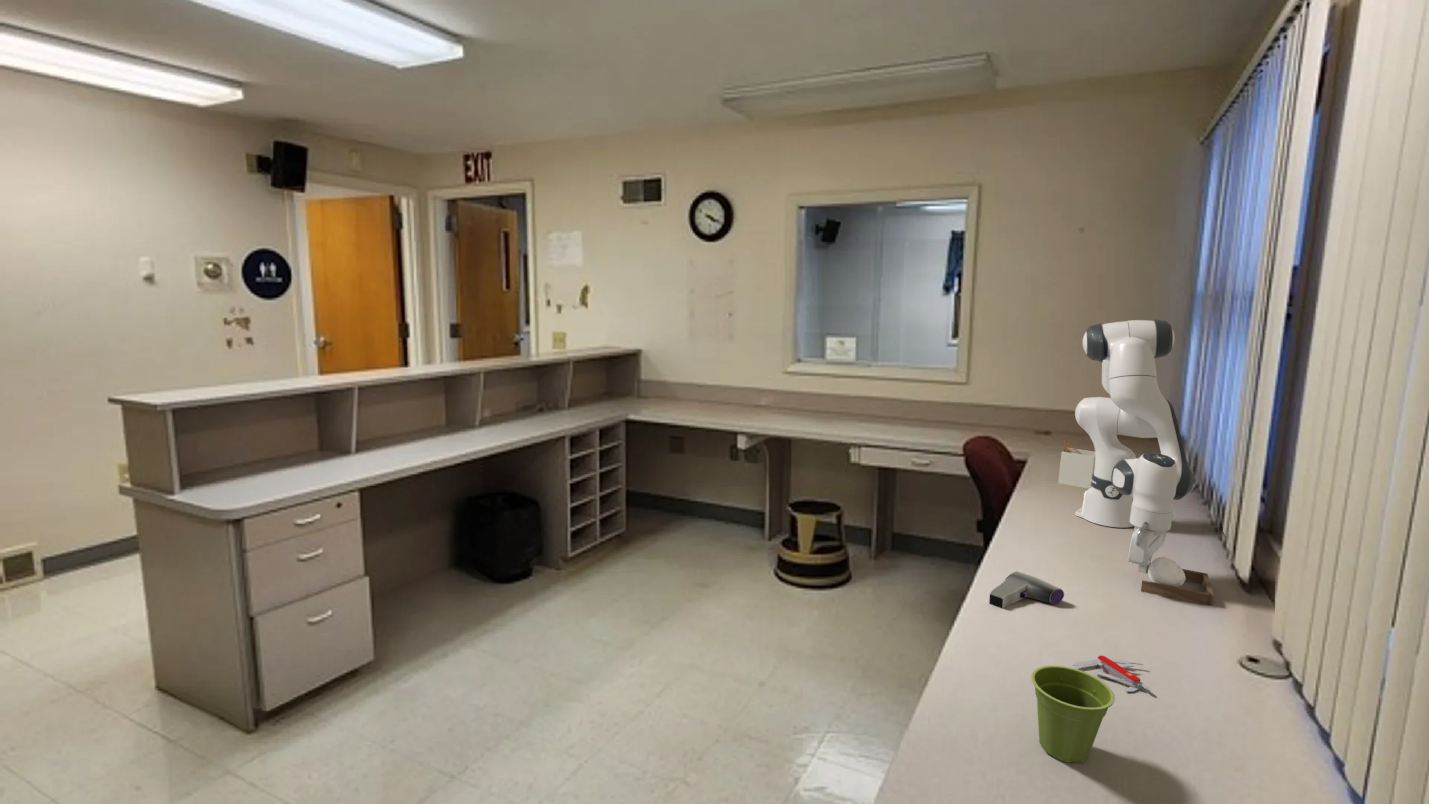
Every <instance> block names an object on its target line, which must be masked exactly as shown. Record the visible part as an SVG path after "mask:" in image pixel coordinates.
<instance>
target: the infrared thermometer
mask: <svg viewBox="0 0 1429 804" xmlns="http://www.w3.org/2000/svg"><path fill="white" fill-rule="evenodd" d="M1027 598H1029V599H1033V600H1036V601H1041V602H1045V603H1048V604H1051V605H1056V604H1059V603H1060V602H1062V600H1064V598H1065V592H1064V590H1063V589H1062V588H1061V587H1058V586H1055V585H1053V584H1052V583H1049V582H1046V581H1045V580H1043V579H1040V578H1038V577H1035V576H1033V575H1029V574H1026V573H1023V572H1020V571H1014V572H1012V573H1010V574H1009V575H1008V576H1007V577H1005V579H1004V580H1003V582H1001V583H1000V584H998V585H997V586H996V587H995V588H993V589H992V590H991V591H990V593H989V599H988V600H989V601H988V604H989V605H992V606H994V607H997V608H1000V609H1003V608H1005V607H1007V606H1010V605H1013V604H1016V603H1017V602H1019V601H1022V600H1023V599H1027Z"/></svg>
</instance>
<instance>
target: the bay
mask: <svg viewBox="0 0 1429 804" xmlns="http://www.w3.org/2000/svg"><path fill="white" fill-rule="evenodd" d="M1150 564H1151V562H1150ZM1149 566H1150V565H1149ZM1182 570H1183V572H1184V574H1185V577H1186V579H1185V581H1187V582H1192V583H1199V584H1201V585H1202V586H1201V587H1202V590H1203V591H1201V590H1199V591H1198V590H1193V589H1189V588H1185V587H1184V588H1183V587H1180V588H1179V587H1174V586H1169V585H1164V584H1159V583H1154V582H1152V581H1149V580H1144V579H1142V580H1141V585H1140V592H1142V593H1148V594H1153V595H1158V596H1163V597H1168V598H1172V599H1173V598H1174V599H1178V600H1181V601H1182V600H1183V601H1186V602H1187V601H1188V602H1191V603H1197V604H1201V605H1202V604H1203V605H1206V606H1211V607H1212V606H1213V604H1214V597H1215V595H1214V591H1213V588H1212V584H1211V581H1210V578H1209V574H1208V573H1205V572H1200V571H1195V570H1191V569H1184V568H1182ZM1146 573H1147V574H1148V571H1147V572H1146ZM1146 573H1145V574H1146Z"/></svg>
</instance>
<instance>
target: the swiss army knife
mask: <svg viewBox="0 0 1429 804" xmlns="http://www.w3.org/2000/svg"><path fill="white" fill-rule="evenodd" d="M1095 664H1096V666H1097V667H1099V668H1100V669H1101V670H1103V671H1104V672H1106V673H1108V674H1106V673H1103V672H1100V671H1094V673H1095V675H1098V676H1101V677H1104V678H1108V679H1112V680H1113V681H1116V682H1118V683H1122V684H1124V685H1125V686H1127V688H1126V689H1125V693H1133V692H1137V691H1138V690H1140V687H1143V688H1144V689H1145V690H1147V691H1152V689H1151V688H1150V687H1149V686H1148V685H1146V684H1145V683H1143V682H1142V681H1141V678H1140V677H1138V676H1137V675H1135V674H1134V673H1132V672H1130V671H1129V670H1127V669H1129V668H1135V665H1139V666H1144V663H1142V662H1138V661H1137V662H1136V661H1128V660H1122V659H1121V660H1120V659H1114V658H1108V657H1107V656H1105V655H1098V656H1097V657H1096V658H1094V659H1089V660H1088V659H1087V660H1082V661H1076V662H1074V663H1072V667H1082V666H1088V665H1089V666H1090V665H1095Z"/></svg>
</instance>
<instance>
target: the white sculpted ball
mask: <svg viewBox="0 0 1429 804" xmlns="http://www.w3.org/2000/svg"><path fill="white" fill-rule="evenodd" d="M1150 563H1151V564H1150V566H1149V569H1148V573H1147V574H1148V577H1149V579H1150V582H1154V583H1159V584H1164V585H1169V586H1174V587H1179V588H1182V587H1181V586H1183V584H1184V583H1186V582H1185V581H1186V580H1185V579H1186V577H1185V574H1184V572H1183V570H1182V569H1183V568H1182V567H1181V565H1180V564H1179V563H1177V561H1174V560H1173V559H1171V558H1169V557H1167V556H1160V557H1157V558H1154V559H1153V560H1151V562H1150Z"/></svg>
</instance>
